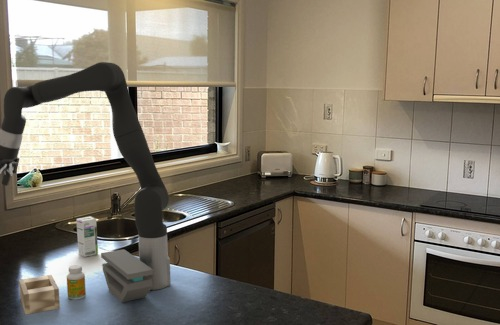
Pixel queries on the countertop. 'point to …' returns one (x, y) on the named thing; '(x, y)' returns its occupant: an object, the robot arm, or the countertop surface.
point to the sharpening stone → (126, 275)
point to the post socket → (39, 294)
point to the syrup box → (87, 236)
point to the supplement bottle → (76, 282)
